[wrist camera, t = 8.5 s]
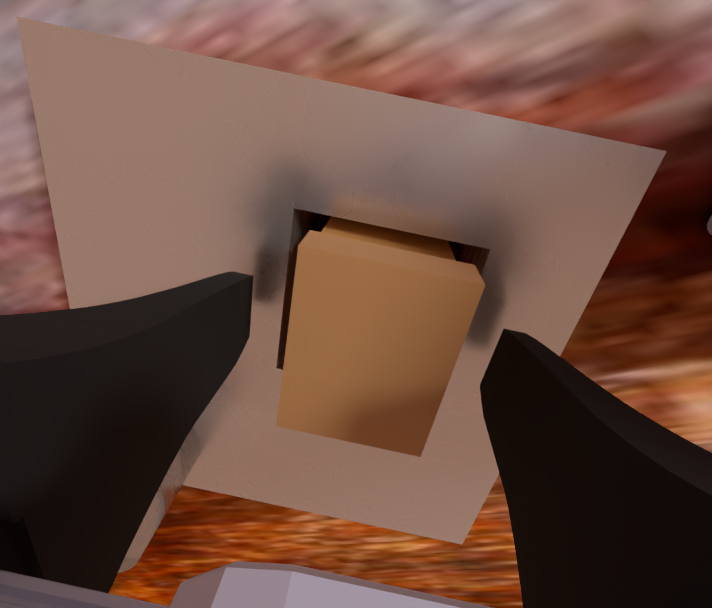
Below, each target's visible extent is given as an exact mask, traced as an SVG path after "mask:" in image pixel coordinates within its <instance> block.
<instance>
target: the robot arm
mask: <svg viewBox="0 0 712 608" xmlns="http://www.w3.org/2000/svg"><path fill="white" fill-rule="evenodd" d="M707 231H708V232H709V234H710V235H712V215H711V217H710V218H709V221H708V223H707ZM253 277H254V276H252V275H248V274H243V273H238V272H233V271H232V272H226V273H222V274H218V275H214V276H211V277H208V278H204V279H201V280H198V281H195V282H191V283H188V284H185V285H182V286H178V287H175V288H171V289H168V290H164V291H160V292H156V293H153V294H149V295H145V296H141V297H137V298H133V299H128V300H124V301H119V302H113V303H108V304H102V305H97V306H90V307H83V308H75V309H66V310H58V311H49V312H41V313H30V314H15V315H0V608H492V607H487V606H483V605H478V604H474V603H469V602H464V601H460V600H455V599H450V598H446V597H441V596H437V595H432V594H427V593H423V592H418V591H413V590H409V589H404V588H400V587H395V586H390V585H386V584H381V583H376V582H372V581H367V580H363V579H358V578H353V577H349V576H344V575H339V574H335V573H330V572H326V571H321V570H316V569H312V568H307V567H302V566H298V565H290V564H274V563H257V562H240V561H237V562H234V563H231V564H228V565H225V566H222V567H220V568H217V569H214V570H211V571H208V572H205V573H203V574H200V575H197V576H195V577H193V578H191V579H188V580H186V581H184V582H182V583H181V584H180V586H179V588H178V590H177V592H176V594H175V596H174V598H173V600H172V602H171V604H170V606H169V607H168V606H164V605H159V604H155V603H150V602H145V601H141V600H136V599H132V598H127V597H122V596H118V595H113V594H109V591H110V589H111V586H112V584H113V582H114V580H115V578H116V575H117V573H118V571H119V569H120V567H121V565H122V562H123V560H124V558H125V556H126V554H127V552H128V550H129V548H130V546H131V544H132V541H133V539H134V537H135V535H136V533H137V531H138V529H139V527H140V525H141V523H142V521H143V519H144V517H145V515H146V513H147V511H148V509H149V507H150V505H151V503H152V501H153V499H154V497H155V495H156V493H157V491H158V489H159V487H160V485H161V483H162V482H163V480H164V478H165V476H166V474H167V472H168V470H169V468H170V466H171V464H172V463H173V461H174V459H175V457H176V455H177V453H178V452H179V450H180V448H181V446H182V444H183V442H184V441H185V439H186V437H187V435H188V434H189V432H190V431H191V429H192V427H193V426H194V424H195V423H196V421H197V420H198V418H199V417H200V416H201V414H202V413H203V411H204V410H205V408H206V407H207V405H208V404H209V403H210V401H211V400H212V398H213V397H214V395H215V394H216V393H217V391H218V390H219V388H220V387H221V385H222V384H223V383H224V381H225V380H226V378H227V377H228V375H229V374H230V372H231V371H232V369H233V368H234V366H235V365H236V363H237V361H238V359H239V357H240V355H241V354H242V352H243V349H244V347H245V345H246V343H247V341H248V339H249V337H250V323H251V307H252V292H253ZM480 393H481V403H482V410H483V416H484V420H485V424H486V428H487V431H488V435H489V439H490V442H491V446H492V449H493V453H494V456H495V459H496V463H497V466H498V470H499V473H500V477H501V480H502V484H503V487H504V491H505V495H506V500H507V504H508V508H509V514H510V520H511V526H512V532H513V538H514V543H515V550H516V557H517V564H518V571H519V578H520V585H521V593H522V601H523V608H712V453H711V452H709V451H707V450H705V449H703V448H701V447H699V446H697V445H695V444H693V443H691V442H689V441H688V440H686V439H684V438H682V437H680V436H679V435H677V434H675V433H673V432H671V431H670V430H668V429H666V428H664V427H663V426H661V425H659V424H658V423H656V422H654V421H653V420H651V419H649V418H648V417H646V416H644V415H643V414H641V413H639V412H638V411H636V410H635V409H633V408H632V407H630V406H628V405H627V404H625V403H624V402H622V401H621V400H619V399H618V398H616V397H615V396H614V395H612V394H611V393H609V392H608V391H606V390H605V389H603V388H602V387H600V386H599V385H598V384H596V383H595V382H593V381H592V380H591V379H589V378H588V377H586V376H585V375H584V374H582V373H581V372H580V371H578V370H577V369H576V368H574V367H573V366H572V365H570V364H569V363H568V362H566V361H565V360H564V359H562V358H561V357H560V356H558V355H557V354H556V353H554V352H553V351H552V350H550V349H549V348H548V347H546V346H545V345H543V344H542V343H541V342H539V341H538V340H536V339H535V338H533V337H532V336H530V335H528V334H526V333H523V332H518V331H513V330H509V329H503V331H502V334H501V336H500V338H499V341H498V343H497V345H496V348H495V350H494V352H493V355H492V357H491V360H490V362H489V364H488V367H487V369H486V371H485V374H484V376H483V379H482V381H481V383H480Z"/></svg>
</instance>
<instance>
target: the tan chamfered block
mask: <svg viewBox="0 0 712 608" xmlns="http://www.w3.org/2000/svg"><path fill="white" fill-rule="evenodd" d="M484 287H485V283H484V281H483V279H482V277H481V276H480V274H479V272H478V270H477V268H476V266H475V265H473V264H468V263H463V262H459V261H456V260H455V257H454V255H453V252H452V250H451V247H450V245H449V242H448V240H444V239H439V238H434V237H429V236H424V235H420V234H415V233H410V232H405V231H400V230H396V229H391V228H386V227H381V226H376V225H372V224H367V223H362V222H357V221H352V220H348V219H343V218H338V217H333V216H331V218H330V219H329V221H328V222H327V224H326V225H325V227H324V228H323V230H322V231H321V232H317V231H313V230H310V231H309V232H308V233H307V235H306V236H305V237H304V239H303V240H302V241H301V242H300V244H299V245H298V253H297V261H296V269H295V277H294V285H293V293H292V301H291V309H290V317H289V326H288V334H287V342H286V350H285V358H284V366H283V374H282V382H281V391H280V399H279V407H278V415H277V423H276V426H277V427H282V428H287V429H291V430H296V431H301V432H305V433H310V434H315V435H320V436H324V437H329V438H334V439H338V440H343V441H348V442H352V443H357V444H362V445H366V446H371V447H376V448H380V449H385V450H390V451H394V452H399V453H404V454H408V455H413V456H418V457H421V455H422V452H423V449H424V447H425V444H426V441H427V439H428V436H429V433H430V431H431V428H432V425H433V423H434V420H435V417H436V415H437V412H438V409H439V407H440V404H441V402H442V399H443V396H444V394H445V391H446V388H447V386H448V383H449V380H450V378H451V375H452V372H453V370H454V367H455V364H456V362H457V359H458V356H459V354H460V351H461V348H462V346H463V343H464V340H465V338H466V335H467V332H468V330H469V327H470V325H471V322H472V319H473V317H474V314H475V311H476V309H477V306H478V303H479V301H480V298H481V295H482V293H483V290H484Z"/></svg>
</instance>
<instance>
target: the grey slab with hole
mask: <svg viewBox="0 0 712 608" xmlns="http://www.w3.org/2000/svg"><path fill="white" fill-rule="evenodd" d="M17 21H18V26H19V32H20V37H21V43H22V48H23V54H24V59H25V65H26V70H27V76H28V81H29V87H30V92H31V98H32V103H33V109H34V114H35V120H36V125H37V131H38V136H39V142H40V147H41V153H42V158H43V164H44V169H45V175H46V180H47V186H48V191H49V197H50V202H51V208H52V213H53V219H54V224H55V230H56V235H57V241H58V246H59V252H60V257H61V263H62V268H63V274H64V279H65V285H66V290H67V296H68V301H69V307H70V309H75V308H83V307H90V306H97V305H102V304H108V303H113V302H119V301H124V300H128V299H133V298H137V297H141V296H145V295H149V294H153V293H156V292H160V291H164V290H168V289H171V288H175V287H178V286H182V285H185V284H188V283H191V282H195V281H198V280H201V279H204V278H208V277H211V276H214V275H218V274H222V273H226V272H232V271H233V272H238V273H243V274H248V275H252V276H254V277H253V292H252V307H251V323H250V337H249V339H248V341H247V343H246V345H245V347H244V349H243V352H242V354H241V355H240V357H239V359H238V361H237V363H236V365H235V366H234V368H233V369H232V371H231V372H230V374H229V375H228V377H227V378H226V380H225V381H224V383H223V384H222V385H221V387H220V388H219V390H218V391H217V393H216V394H215V395H214V397H213V398H212V400H211V401H210V403H209V404H208V405H207V407H206V408H205V410H204V411H203V413H202V414H201V416H200V417H199V418H198V420H197V421H196V423H195V424H194V426H193V427H192V429H191V431H190V432H189V434H188V435H187V437H186V439H185V441H184V442H183V444H182V446H181V448H180V450H179V452H178V453H177V455H176V457H175V459H174V461H173V463H172V464H171V466H170V468H169V470H168V472H167V474H166V476H165V478H164V480H163V482H162V483H161V485H160V487H159V489H158V491H157V493H156V495H155V497H154V499H153V501H152V503H151V505H150V507H149V509H148V511H147V513H146V515H145V517H144V519H143V521H142V523H141V525H140V527H139V529H138V531H137V533H136V535H135V537H134V539H133V541H132V544H131V546H130V548H129V550H128V552H127V554H126V556H125V558H124V560H123V562H122V565H121V567H120V569H119V571H118V573H121V572H124V571H127V570H129V569H131V568H132V567H133V566H135V565H136V563H137V562H138V560H139V559H140V557H141V555H142V554H143V552H144V550H145V548H146V547H147V545H148V543H149V542H150V540H151V538H152V536H153V535H154V533H155V531H156V530H157V528H158V526H159V524H160V523H161V521H162V519H163V518H164V516H165V514H166V512H167V511H168V509H169V507H170V506H171V504H172V502H173V500H174V499H175V497H176V495H177V494H178V492H179V490H180V488H181V487H182V485H185V486H189V487H194V488H199V489H204V490H208V491H213V492H218V493H222V494H227V495H232V496H236V497H241V498H246V499H251V500H255V501H260V502H265V503H269V504H274V505H279V506H284V507H288V508H293V509H298V510H302V511H307V512H312V513H316V514H321V515H326V516H331V517H335V518H340V519H345V520H349V521H354V522H359V523H363V524H368V525H373V526H378V527H382V528H387V529H392V530H396V531H401V532H406V533H410V534H415V535H420V536H425V537H429V538H434V539H439V540H443V541H448V542H453V543H458V544H463V542H464V540H465V538H466V536H467V534H468V532H469V530H470V528H471V527H472V525H473V523H474V521H475V519H476V517H477V515H478V513H479V511H480V509H481V507H482V505H483V503H484V502H485V500H486V498H487V496H488V494H489V492H490V490H491V488H492V486H493V484H494V482H495V480H496V478H497V477H498V475H499V470H498V466H497V463H496V459H495V456H494V453H493V449H492V446H491V442H490V439H489V435H488V431H487V428H486V424H485V420H484V416H483V410H482V403H481V393H480V383H481V381H482V379H483V376H484V374H485V371H486V369H487V367H488V364H489V362H490V360H491V357H492V355H493V352H494V350H495V348H496V345H497V343H498V341H499V338H500V336H501V334H502V331H503V329H509V330H513V331H518V332H523V333H526V334H528V335H530V336H532V337H533V338H535V339H536V340H538V341H539V342H541V343H542V344H543V345H545V346H546V347H548V348H549V349H550V350H552V351H553V352H554V353H556V354H557V355H558V356H560V355H561V354H562V352H563V350H564V348H565V346H566V344H567V342H568V340H569V338H570V336H571V334H572V332H573V331H574V329H575V327H576V325H577V323H578V321H579V319H580V317H581V315H582V313H583V311H584V309H585V307H586V306H587V304H588V302H589V300H590V298H591V296H592V294H593V292H594V290H595V288H596V286H597V284H598V282H599V281H600V279H601V277H602V275H603V273H604V271H605V269H606V267H607V265H608V263H609V261H610V259H611V257H612V256H613V254H614V252H615V250H616V248H617V246H618V244H619V242H620V240H621V238H622V236H623V234H624V232H625V231H626V229H627V227H628V225H629V223H630V221H631V219H632V217H633V215H634V213H635V211H636V209H637V208H638V206H639V204H640V202H641V200H642V198H643V196H644V194H645V192H646V190H647V188H648V186H649V184H650V183H651V181H652V179H653V177H654V175H655V173H656V171H657V169H658V167H659V165H660V163H661V161H662V159H663V158H664V156H665V154H666V152H667V151H663V150H658V149H653V148H649V147H644V146H639V145H634V144H629V143H624V142H620V141H615V140H610V139H605V138H600V137H595V136H590V135H586V134H581V133H576V132H571V131H566V130H561V129H557V128H552V127H547V126H542V125H537V124H532V123H528V122H523V121H518V120H513V119H508V118H503V117H499V116H494V115H489V114H484V113H479V112H474V111H469V110H465V109H460V108H455V107H450V106H445V105H440V104H436V103H431V102H426V101H421V100H416V99H411V98H407V97H402V96H397V95H392V94H387V93H382V92H378V91H373V90H368V89H363V88H358V87H353V86H348V85H344V84H339V83H334V82H329V81H324V80H319V79H315V78H310V77H305V76H300V75H295V74H290V73H286V72H281V71H276V70H271V69H266V68H261V67H257V66H252V65H247V64H242V63H237V62H232V61H228V60H223V59H218V58H213V57H208V56H203V55H198V54H194V53H189V52H184V51H179V50H174V49H169V48H165V47H160V46H155V45H150V44H145V43H140V42H136V41H131V40H126V39H121V38H116V37H111V36H107V35H102V34H97V33H92V32H87V31H82V30H77V29H73V28H68V27H63V26H58V25H53V24H48V23H44V22H39V21H34V20H29V19H24V18H19V17H17ZM312 212H314V213H319V214H324V215H328V216H333V217H338V218H343V219H348V220H352V221H357V222H362V223H367V224H372V225H376V226H381V227H386V228H391V229H396V230H400V231H405V232H410V233H415V234H420V235H424V236H429V237H434V238H439V239H444V240H448V241H453V242H458V243H463V244H464V247H463V251H462V254H461V257H460V260H459V262H463V263H468V264H473V265H475V266H476V268H477V270H478V272H479V274H480V276H481V277H482V279H483V281H484V283H485V287H484V290H483V293H482V295H481V298H480V301H479V303H478V306H477V309H476V311H475V314H474V317H473V319H472V322H471V325H470V327H469V330H468V332H467V335H466V338H465V340H464V343H463V346H462V348H461V351H460V354H459V356H458V359H457V362H456V364H455V367H454V370H453V372H452V375H451V378H450V380H449V383H448V386H447V388H446V391H445V394H444V396H443V399H442V402H441V404H440V407H439V409H438V412H437V415H436V417H435V420H434V423H433V425H432V428H431V431H430V433H429V436H428V439H427V441H426V444H425V447H424V449H423V452H422V455H421V457H418V456H413V455H408V454H404V453H399V452H394V451H390V450H385V449H380V448H376V447H371V446H366V445H362V444H357V443H352V442H348V441H343V440H338V439H334V438H329V437H324V436H320V435H315V434H310V433H305V432H301V431H296V430H291V429H287V428H282V427H277V426H276V423H277V415H278V407H279V399H280V391H281V382H282V374H283V366H284V358H285V350H286V342H287V334H288V326H289V317H290V309H291V301H292V293H293V285H294V277H295V269H296V261H297V253H298V245H299V244H300V242H301V241H302V240H303V239H304V237H305V236H306V235H307V233H308V232H309V228H310V221H311V213H312Z"/></svg>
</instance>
